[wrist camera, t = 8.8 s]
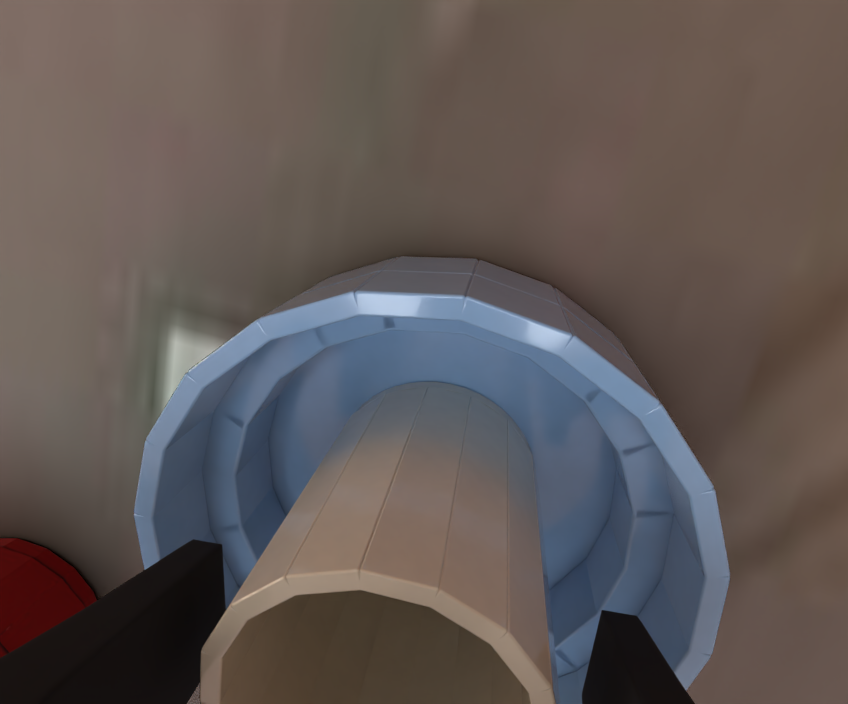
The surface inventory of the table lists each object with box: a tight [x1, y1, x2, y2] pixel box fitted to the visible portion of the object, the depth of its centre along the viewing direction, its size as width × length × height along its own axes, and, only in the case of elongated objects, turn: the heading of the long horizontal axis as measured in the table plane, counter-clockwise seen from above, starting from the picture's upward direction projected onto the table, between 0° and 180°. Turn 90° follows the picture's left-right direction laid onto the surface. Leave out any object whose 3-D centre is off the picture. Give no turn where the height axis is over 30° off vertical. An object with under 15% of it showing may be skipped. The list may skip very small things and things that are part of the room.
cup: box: [200, 382, 560, 704], centre depth 11 cm, size 6×6×7 cm
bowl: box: [134, 256, 730, 704], centre depth 13 cm, size 12×12×4 cm
